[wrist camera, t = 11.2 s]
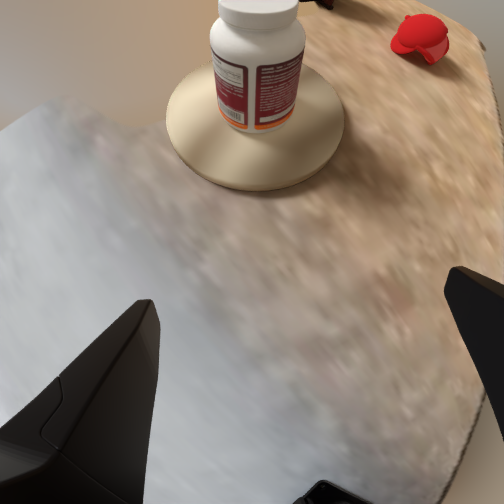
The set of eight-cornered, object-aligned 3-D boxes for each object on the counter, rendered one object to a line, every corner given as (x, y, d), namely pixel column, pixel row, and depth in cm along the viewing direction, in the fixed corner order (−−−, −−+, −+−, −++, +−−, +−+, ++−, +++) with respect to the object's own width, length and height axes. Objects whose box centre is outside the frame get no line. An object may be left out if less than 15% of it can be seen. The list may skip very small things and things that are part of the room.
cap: (429, 20, 27) (405, -5, 24) (462, 37, 24) (441, 10, 21) (402, 61, 32) (375, 40, 29) (432, 81, 29) (408, 59, 26)
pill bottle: (293, 85, 25) (310, -19, 14) (293, 139, 23) (317, 26, 13) (223, 81, 25) (214, -24, 14) (213, 134, 23) (196, 19, 13)
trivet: (368, 112, 26) (372, 104, 24) (272, 229, 23) (273, 224, 21) (243, 44, 28) (243, 35, 27) (135, 130, 25) (131, 122, 24)
